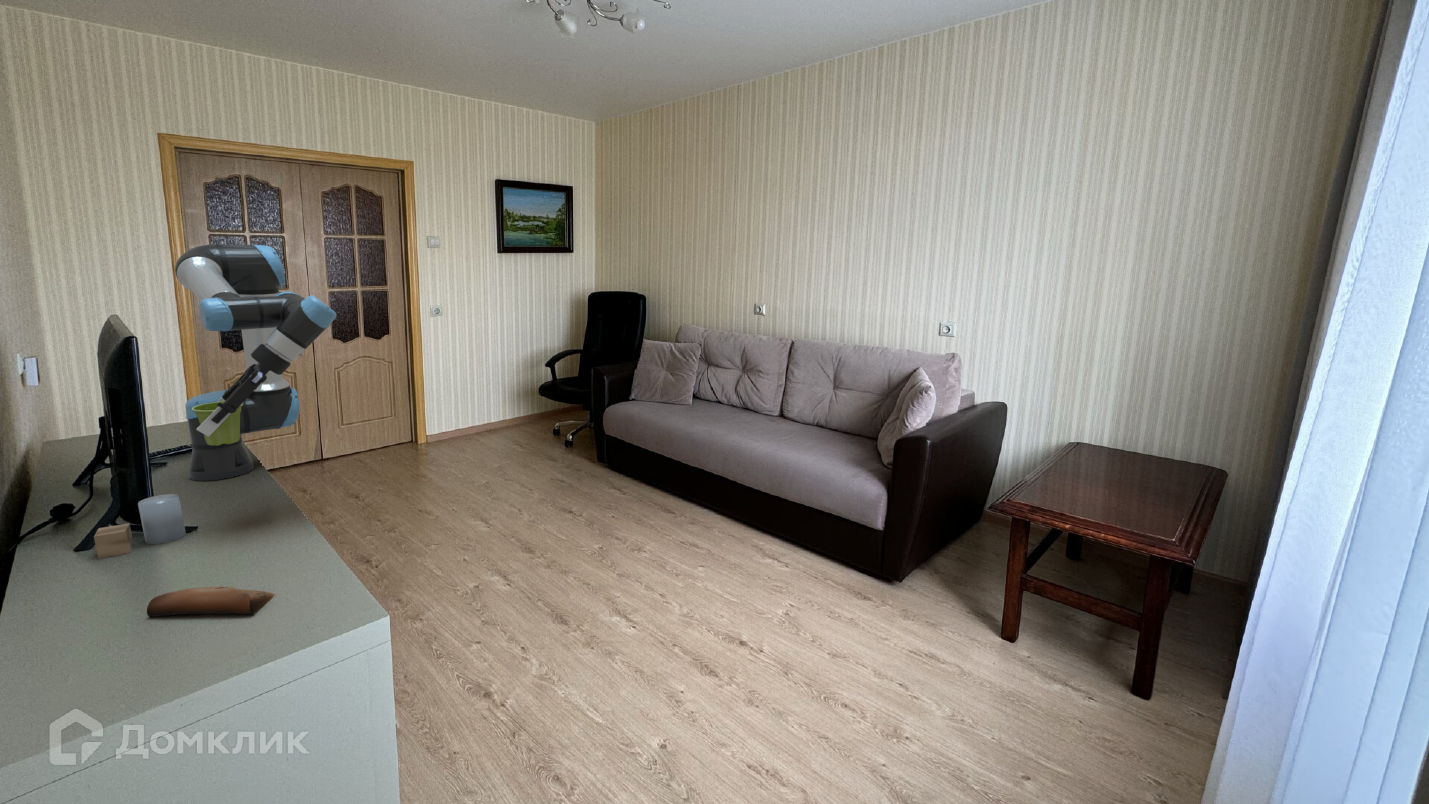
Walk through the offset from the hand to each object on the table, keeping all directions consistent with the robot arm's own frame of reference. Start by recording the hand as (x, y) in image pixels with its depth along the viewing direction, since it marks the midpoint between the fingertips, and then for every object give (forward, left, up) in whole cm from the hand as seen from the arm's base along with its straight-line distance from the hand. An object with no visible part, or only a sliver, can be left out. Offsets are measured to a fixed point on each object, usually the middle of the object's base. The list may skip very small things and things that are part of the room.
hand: (203, 427), depth 149 cm
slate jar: (+1, -10, -24) cm, 26 cm away
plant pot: (0, +3, -4) cm, 5 cm away
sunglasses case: (+44, 0, -24) cm, 50 cm away
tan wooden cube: (+4, -18, -24) cm, 30 cm away
